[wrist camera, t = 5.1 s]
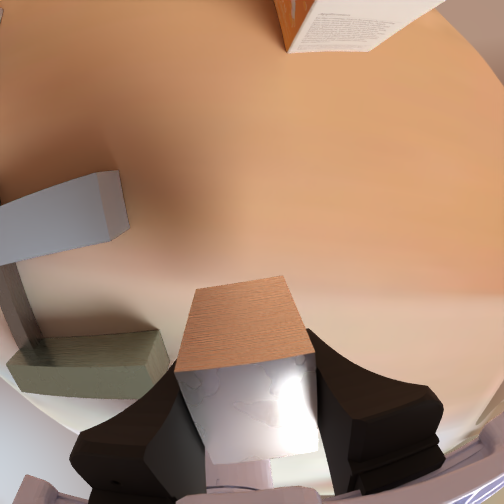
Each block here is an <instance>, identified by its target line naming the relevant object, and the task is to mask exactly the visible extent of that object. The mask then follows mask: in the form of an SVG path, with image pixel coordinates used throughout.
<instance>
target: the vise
mask: <svg viewBox="0 0 504 504" xmlns="http://www.w3.org/2000/svg"><path fill="white" fill-rule="evenodd" d="M0 206H1V201H0ZM0 306H1V309H2V311H3V314H4V316H5V319H6V321H7V323H8V326H9V328H10V330H11V333H12V335H13V337H14V339H15V341H16V343H17V345H18V347H19V350H18V351H17V352H16V354H15V355H14V356H13V357H12V358H11V359H10V360H9V361H8V362H7V363H6V366H7V367H8V369H9V371H10V373H11V375H12V376H13V378H14V380H15V382H16V383H17V385H18V387H19V388H20V390H21V391H22V392H27V393H35V394H43V395H53V396H65V397H79V398H100V399H140V398H141V397H142V396H144V395H145V394H146V393H147V392H148V391H149V390H150V389H151V388H152V387H153V386H154V385H155V384H156V383H157V382H158V381H159V380H160V379H161V378H162V376H163V375H164V374H165V373H166V372H167V369H168V366H169V362H170V360H169V357H168V355H167V352H166V349H165V346H164V343H163V340H162V337H161V334H160V331H159V330H154V331H144V332H133V333H122V334H110V335H96V336H80V337H60V338H43V336H42V334H41V331H40V329H39V327H38V324H37V322H36V320H35V317H34V315H33V312H32V310H31V307H30V305H29V302H28V299H27V297H26V294H25V291H24V288H23V285H22V282H21V279H20V276H19V273H18V270H17V267H16V263H15V262H14V263H9V264H5V265H1V266H0Z"/></svg>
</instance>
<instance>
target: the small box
mask: <svg viewBox="0 0 504 504" xmlns="http://www.w3.org/2000/svg"><path fill="white" fill-rule="evenodd" d="M444 1H446V0H274V3H275V7H276V10H277V14H278V18H279V22H280V26H281V30H282V34H283V39H284V43H285V47H286V52H287V53H301V52H323V51H359V52H369V51H370V50H372V49H373V48H375V47H376V46H378V45H379V44H380V43H382V42H383V41H385V40H386V39H388V38H389V37H390V36H392V35H393V34H395V33H396V32H398V31H399V30H401V29H402V28H404V27H405V26H407V25H408V24H409V23H411V22H412V21H414V20H415V19H417V18H419V17H420V16H422V15H423V14H425V13H427V12H428V11H430V10H431V9H433V8H435V7H436V6H438V5H439V4H441V3H442V2H444Z"/></svg>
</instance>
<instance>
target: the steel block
mask: <svg viewBox="0 0 504 504" xmlns="http://www.w3.org/2000/svg"><path fill="white" fill-rule="evenodd" d="M174 374H175V376H176V379H177V382H178V384H179V387H180V389H181V392H182V395H183V397H184V399H185V402H186V404H187V407H188V409H189V412H190V414H191V416H192V419H193V421H194V423H195V426H196V428H197V430H198V432H199V435H200V437H201V439H202V441H203V443H204V446H205V448H206V450H207V452H208V454H209V456H210V458H211V460H212V462H213V464H229V463H240V462H250V461H258V460H266V459H273V458H280V457H286V456H291V455H297V454H302V453H307V452H312V451H317V450H318V423H317V381H316V357H315V350H314V348H313V345H312V343H311V341H310V338H309V336H308V333H307V331H306V329H305V326H304V324H303V322H302V319H301V317H300V314H299V312H298V310H297V307H296V305H295V303H294V300H293V298H292V296H291V293H290V291H289V289H288V286H287V284H286V282H285V279H284V277H283V276H277V277H271V278H265V279H259V280H253V281H247V282H240V283H234V284H227V285H221V286H214V287H207V288H201V289H196V291H195V295H194V298H193V302H192V305H191V309H190V313H189V316H188V320H187V324H186V327H185V331H184V335H183V339H182V342H181V346H180V350H179V354H178V358H177V362H176V366H175V370H174Z"/></svg>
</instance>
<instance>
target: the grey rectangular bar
mask: <svg viewBox="0 0 504 504" xmlns="http://www.w3.org/2000/svg"><path fill="white" fill-rule="evenodd" d="M129 228H130V226H129V221H128V217H127V212H126V207H125V202H124V197H123V192H122V187H121V181H120V176H119V170H115V171H105V172H96V173H92V174H89V175H86V176H83V177H79V178H76V179H73V180H70V181H67V182H64V183H61V184H58V185H55V186H52V187H49V188H46V189H43V190H41V191H38V192H35V193H32V194H30V195H27V196H25V197H22V198H19V199H17V200H14V201H12V202H9V203H7V204H4V205H2V206H0V266H1V265H5V264H9V263H14V262H18V261H22V260H26V259H31V258H35V257H39V256H44V255H48V254H53V253H57V252H62V251H66V250H71V249H75V248H80V247H85V246H90V245H95V244H99V243H104V242H109V241H112V240H113V239H115V238H116V237H118V236H119V235H121V234H122V233H123V232H125V231H126V230H128V229H129Z"/></svg>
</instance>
